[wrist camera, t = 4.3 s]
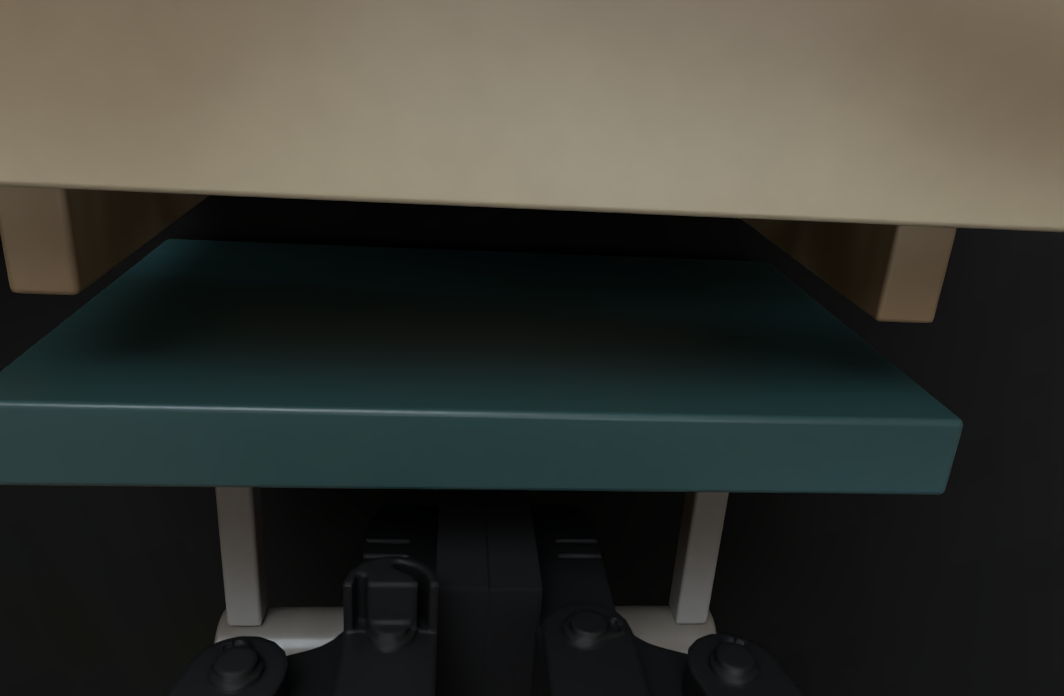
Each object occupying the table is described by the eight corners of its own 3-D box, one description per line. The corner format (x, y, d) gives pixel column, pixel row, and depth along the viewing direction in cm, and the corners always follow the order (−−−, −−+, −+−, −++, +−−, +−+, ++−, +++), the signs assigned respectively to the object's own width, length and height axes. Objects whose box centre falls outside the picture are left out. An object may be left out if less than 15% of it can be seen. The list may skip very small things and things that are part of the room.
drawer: (724, 524, 21) (862, 792, 14) (195, 521, 20) (45, 814, 13) (900, -489, 14) (1384, -1036, 7) (80, -598, 12) (-436, -1423, 5)
